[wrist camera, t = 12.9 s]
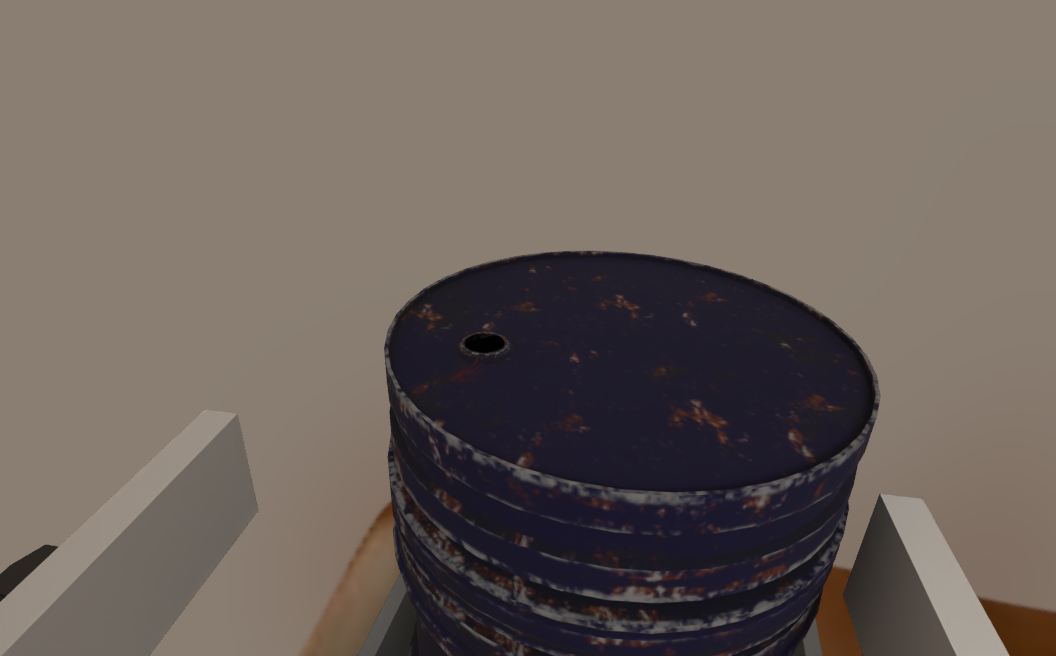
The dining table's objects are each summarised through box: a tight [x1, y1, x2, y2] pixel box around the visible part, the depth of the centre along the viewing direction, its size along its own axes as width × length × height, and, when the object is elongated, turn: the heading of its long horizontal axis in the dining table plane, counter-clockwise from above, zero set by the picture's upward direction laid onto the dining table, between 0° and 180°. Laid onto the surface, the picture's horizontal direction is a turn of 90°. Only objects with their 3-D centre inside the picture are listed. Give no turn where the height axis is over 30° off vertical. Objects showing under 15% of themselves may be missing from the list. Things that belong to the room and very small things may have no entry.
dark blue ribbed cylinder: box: [384, 251, 880, 656], centre depth 17 cm, size 10×10×15 cm
